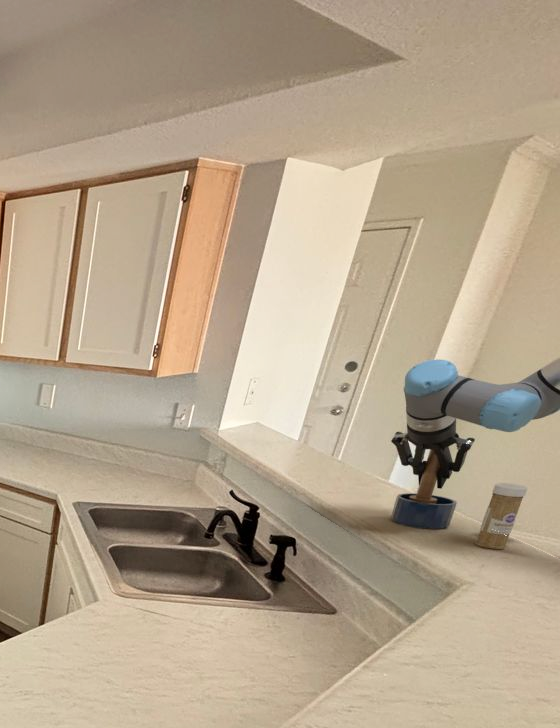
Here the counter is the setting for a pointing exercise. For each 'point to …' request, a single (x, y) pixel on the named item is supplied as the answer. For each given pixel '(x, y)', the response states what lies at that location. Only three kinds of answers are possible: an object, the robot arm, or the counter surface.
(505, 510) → the sprinkles bottle
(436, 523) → the bowl
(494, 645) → the counter surface
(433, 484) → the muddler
